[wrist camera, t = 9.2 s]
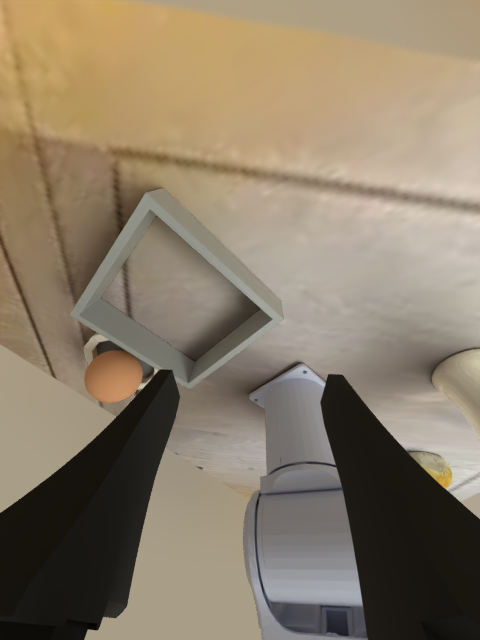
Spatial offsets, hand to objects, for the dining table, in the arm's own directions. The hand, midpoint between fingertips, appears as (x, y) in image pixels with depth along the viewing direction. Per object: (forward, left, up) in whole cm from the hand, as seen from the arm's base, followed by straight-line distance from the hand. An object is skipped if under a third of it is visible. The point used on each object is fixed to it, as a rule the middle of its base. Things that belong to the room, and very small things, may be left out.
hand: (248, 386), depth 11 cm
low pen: (+4, +5, -10) cm, 12 cm away
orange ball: (+4, +15, -8) cm, 17 cm away
